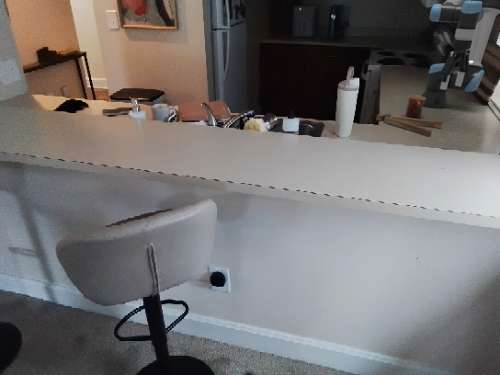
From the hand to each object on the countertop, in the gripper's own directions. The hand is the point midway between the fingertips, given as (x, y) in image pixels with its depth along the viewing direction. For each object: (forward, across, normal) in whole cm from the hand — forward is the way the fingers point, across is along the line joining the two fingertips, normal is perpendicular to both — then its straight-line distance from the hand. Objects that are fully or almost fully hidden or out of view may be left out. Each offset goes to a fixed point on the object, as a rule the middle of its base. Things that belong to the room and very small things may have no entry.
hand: (450, 87), depth 181 cm
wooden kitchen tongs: (+18, +19, -8) cm, 27 cm away
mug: (+19, +1, -15) cm, 24 cm away
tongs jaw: (+18, +11, -7) cm, 22 cm away
